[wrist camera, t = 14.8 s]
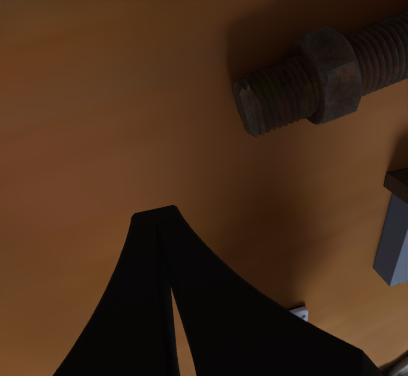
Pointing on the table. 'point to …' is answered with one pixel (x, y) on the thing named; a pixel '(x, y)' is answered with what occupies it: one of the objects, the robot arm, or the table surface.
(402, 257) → the socket
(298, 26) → the table surface
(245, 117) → the bolt
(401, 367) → the salad plate
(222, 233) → the table surface
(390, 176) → the mount bracket
